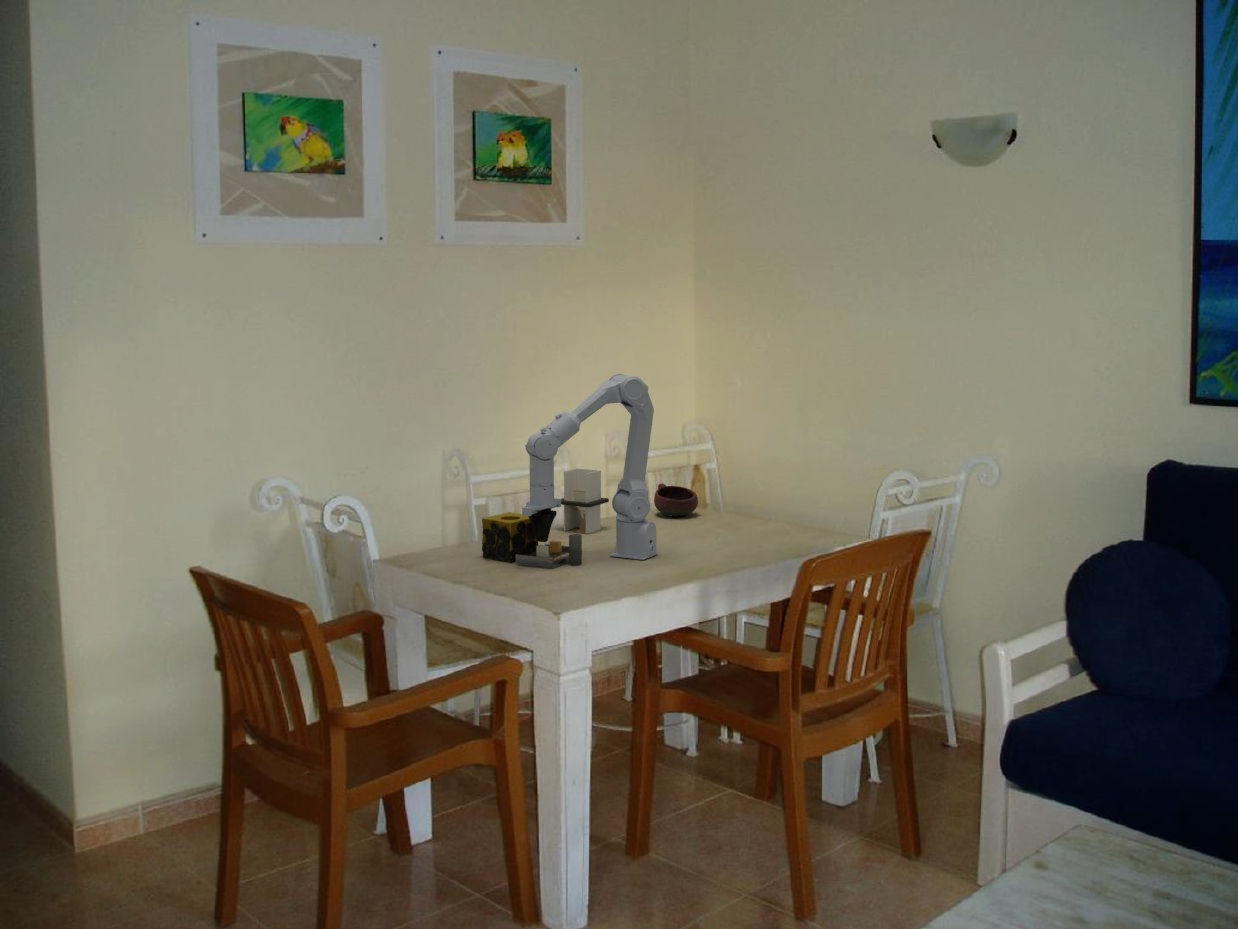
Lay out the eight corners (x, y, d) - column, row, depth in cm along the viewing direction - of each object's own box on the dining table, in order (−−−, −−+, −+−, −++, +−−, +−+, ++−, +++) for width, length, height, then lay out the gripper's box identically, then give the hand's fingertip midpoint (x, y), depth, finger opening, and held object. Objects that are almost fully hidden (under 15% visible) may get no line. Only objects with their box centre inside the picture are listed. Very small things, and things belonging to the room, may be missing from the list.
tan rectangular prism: (561, 551, 310) (561, 541, 309) (558, 552, 308) (558, 542, 308) (553, 550, 311) (552, 540, 310) (549, 551, 309) (549, 541, 309)
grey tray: (581, 557, 311) (581, 547, 310) (552, 569, 299) (552, 558, 298) (546, 553, 315) (546, 543, 315) (515, 564, 303) (515, 554, 303)
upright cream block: (548, 556, 304) (548, 545, 304) (545, 557, 303) (545, 547, 302) (540, 555, 305) (539, 544, 305) (536, 556, 304) (536, 546, 304)
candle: (510, 551, 319) (509, 511, 318) (540, 556, 313) (539, 516, 311) (480, 558, 311) (480, 517, 310) (511, 563, 305) (510, 522, 304)
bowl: (707, 515, 368) (707, 487, 366) (680, 521, 358) (680, 493, 357) (662, 509, 378) (662, 482, 376) (635, 515, 368) (635, 487, 367)
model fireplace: (517, 534, 342) (517, 473, 339) (568, 519, 362) (567, 462, 360) (597, 543, 329) (597, 480, 327) (644, 528, 350) (644, 468, 347)
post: (584, 563, 304) (583, 534, 303) (577, 566, 302) (577, 537, 301) (573, 562, 306) (572, 533, 305) (566, 565, 303) (566, 535, 302)
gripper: (543, 479, 310) (543, 534, 312) (510, 487, 297) (511, 545, 299) (568, 481, 307) (569, 537, 309) (536, 489, 294) (537, 548, 296)
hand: (542, 541), depth 304 cm, fingers closed
